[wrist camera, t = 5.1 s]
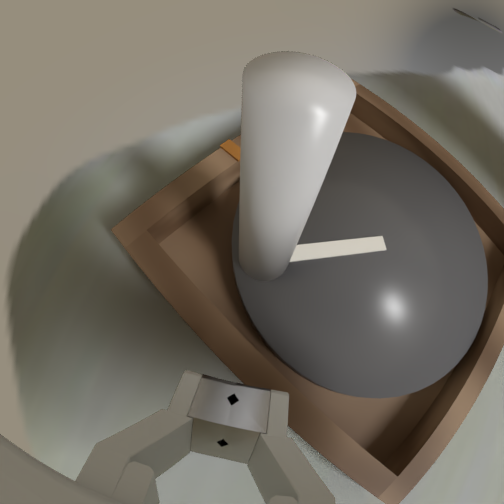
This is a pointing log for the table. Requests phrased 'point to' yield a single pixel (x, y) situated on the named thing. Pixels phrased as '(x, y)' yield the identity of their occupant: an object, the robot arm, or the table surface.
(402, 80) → the table surface
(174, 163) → the table surface
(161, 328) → the table surface
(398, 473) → the dial housing
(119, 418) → the table surface
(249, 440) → the robot arm
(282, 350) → the dial
